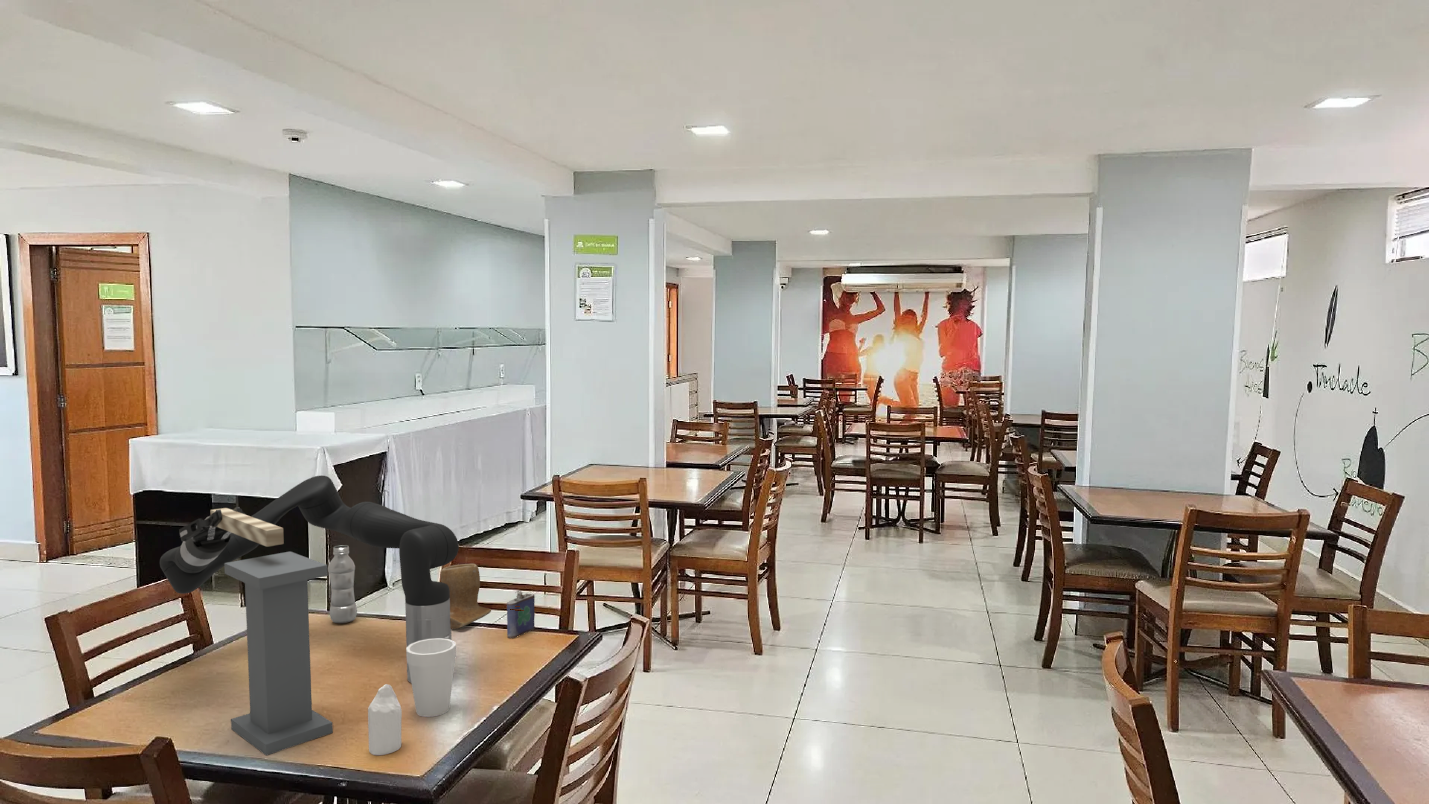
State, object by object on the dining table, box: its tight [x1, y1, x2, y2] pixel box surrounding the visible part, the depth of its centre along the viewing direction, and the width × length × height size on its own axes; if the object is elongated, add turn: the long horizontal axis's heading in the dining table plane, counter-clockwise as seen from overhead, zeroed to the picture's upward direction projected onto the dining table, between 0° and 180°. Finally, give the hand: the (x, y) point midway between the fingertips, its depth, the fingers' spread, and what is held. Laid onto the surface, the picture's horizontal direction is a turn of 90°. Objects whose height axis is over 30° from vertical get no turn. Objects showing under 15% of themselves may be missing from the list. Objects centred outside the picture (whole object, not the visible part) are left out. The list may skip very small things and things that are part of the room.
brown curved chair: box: [440, 563, 492, 630], centre depth 228 cm, size 15×12×15 cm
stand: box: [224, 551, 334, 756], centre depth 163 cm, size 16×12×32 cm
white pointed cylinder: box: [367, 683, 403, 756], centre depth 157 cm, size 6×12×6 cm
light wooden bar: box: [210, 507, 285, 547], centre depth 171 cm, size 28×3×3 cm, turn 49°
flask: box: [506, 590, 536, 639], centre depth 219 cm, size 9×3×11 cm, turn 151°
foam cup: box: [405, 638, 457, 718], centre depth 173 cm, size 10×9×13 cm
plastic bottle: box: [327, 544, 358, 624], centre depth 228 cm, size 6×7×20 cm
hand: (229, 512), depth 176 cm, fingers closed on light wooden bar, 3 cm apart
